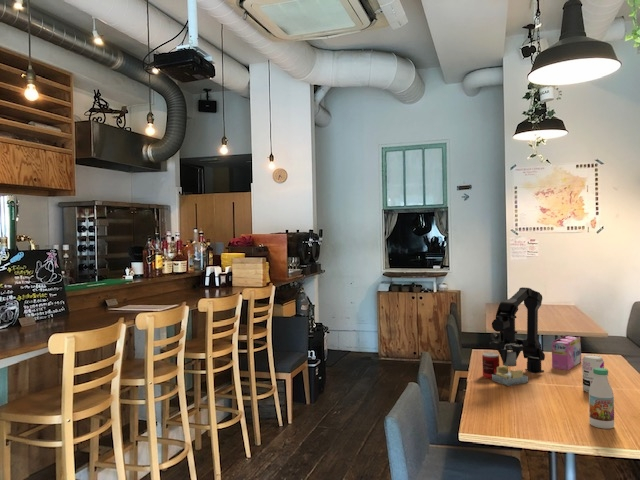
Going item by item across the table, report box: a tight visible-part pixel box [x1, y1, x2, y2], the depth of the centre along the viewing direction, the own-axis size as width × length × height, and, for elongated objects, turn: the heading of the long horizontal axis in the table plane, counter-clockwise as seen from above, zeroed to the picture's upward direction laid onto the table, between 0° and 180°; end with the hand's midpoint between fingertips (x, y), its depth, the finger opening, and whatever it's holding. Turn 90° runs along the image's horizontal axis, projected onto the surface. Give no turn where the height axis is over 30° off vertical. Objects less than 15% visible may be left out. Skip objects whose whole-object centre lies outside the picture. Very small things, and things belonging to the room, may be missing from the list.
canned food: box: [481, 351, 500, 380], centre depth 241 cm, size 8×8×11 cm
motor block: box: [491, 365, 529, 387], centre depth 233 cm, size 14×10×6 cm
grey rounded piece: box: [502, 350, 517, 367], centre depth 233 cm, size 6×6×6 cm
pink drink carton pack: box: [551, 334, 582, 371], centre depth 262 cm, size 24×8×14 cm, turn 137°
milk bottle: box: [588, 367, 615, 430], centre depth 177 cm, size 8×8×20 cm
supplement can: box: [581, 354, 605, 394], centre depth 215 cm, size 8×8×15 cm
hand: (509, 362), depth 233 cm, fingers closed on grey rounded piece, 6 cm apart
